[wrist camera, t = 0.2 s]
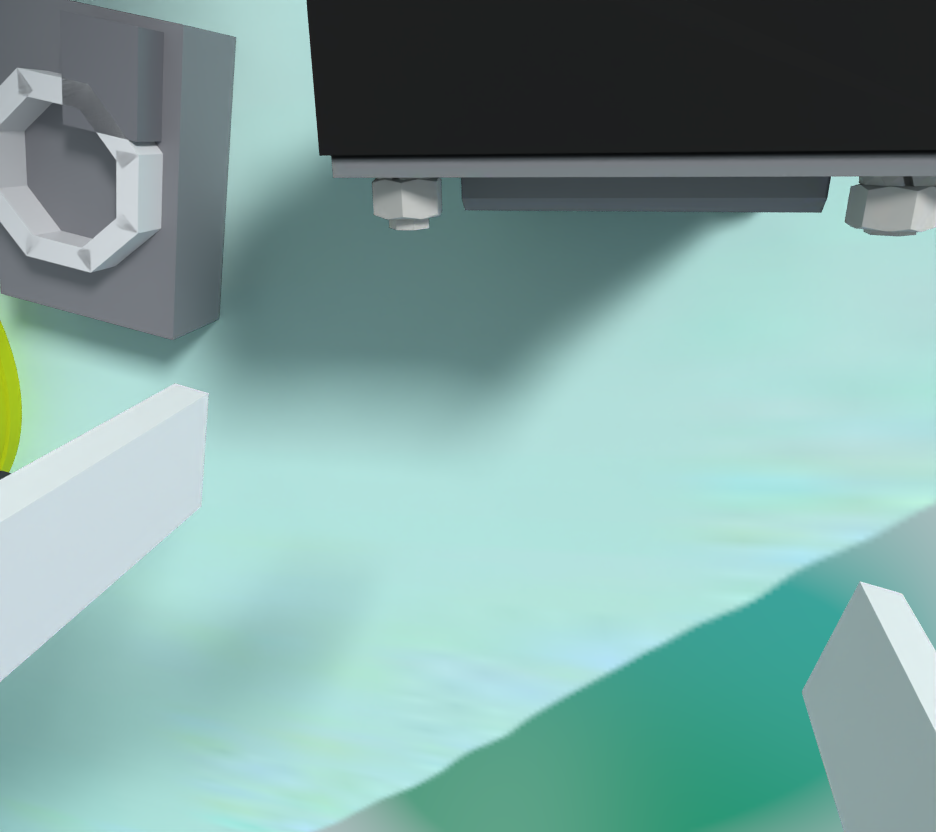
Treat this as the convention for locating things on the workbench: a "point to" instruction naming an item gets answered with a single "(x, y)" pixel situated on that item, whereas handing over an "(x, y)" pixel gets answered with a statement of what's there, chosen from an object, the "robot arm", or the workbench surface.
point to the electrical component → (632, 105)
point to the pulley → (8, 405)
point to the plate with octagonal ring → (113, 164)
